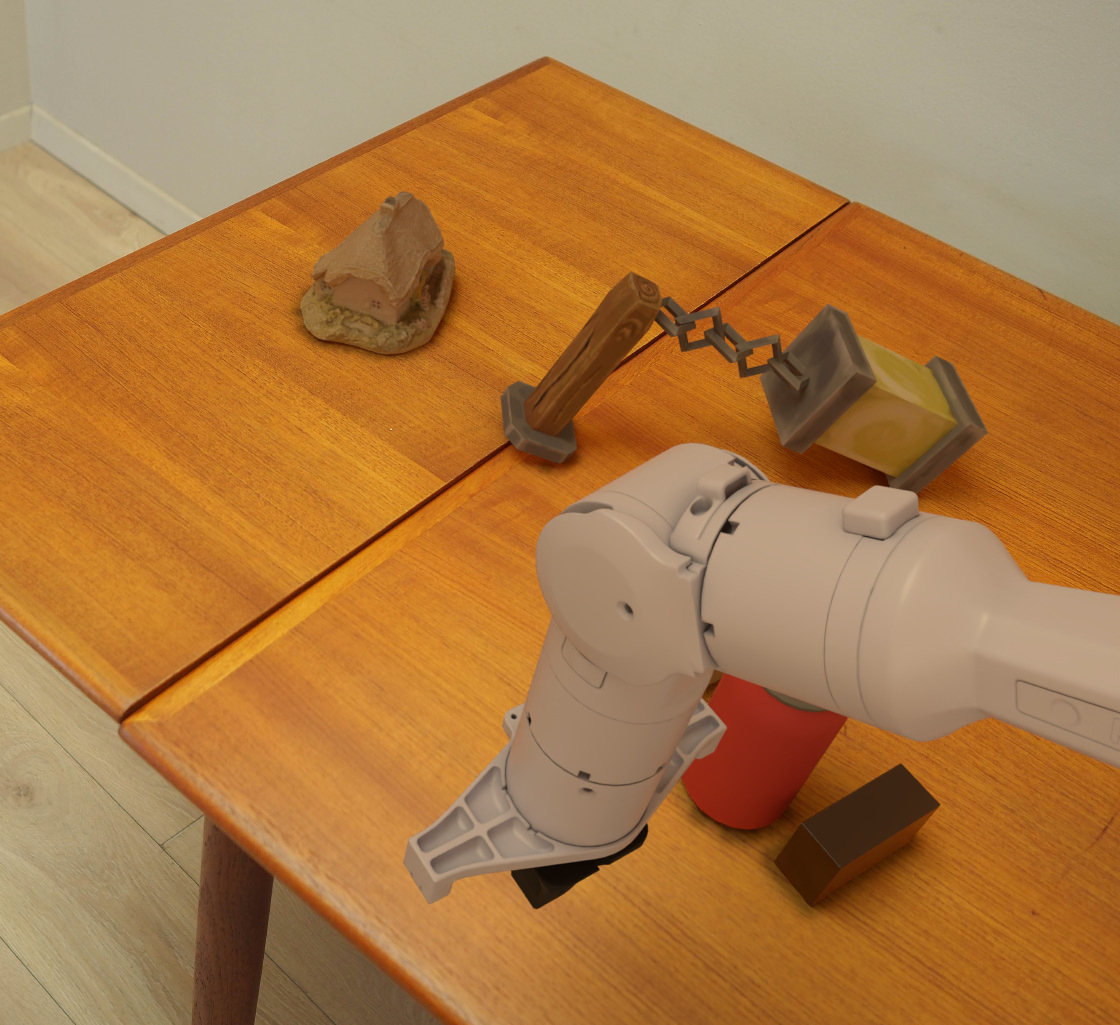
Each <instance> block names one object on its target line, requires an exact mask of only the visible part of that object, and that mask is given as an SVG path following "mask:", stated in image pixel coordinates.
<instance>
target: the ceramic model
mask: <svg viewBox="0 0 1120 1025" xmlns="http://www.w3.org/2000/svg"><path fill="white" fill-rule="evenodd" d="M414 195H415V194H414V193H413V192H408V191H403V190H401V191H399V192H398V193H397V194H396V195H395V196H391V195H389V196H387V197H385V199H384V201H383V202H382V203H381V204H380V205H379V208H378V209H377V210H376V211H374V212H372V214H371V215H370V216H369V217H368V218H367V219H366V220H365V221H364V222H362V223H361V224H360V225H358V226H357V227H356V228H355V229H354V230H353V231H351V233H350V234H349V235H348V236H346V238H344V240H343V241H341V242H340V243H339V244H338V245H337V247H334V248H332V249H331V250H329V251H328V252H326V253H324V254H323V255H322V256H320V257H319V258H318V260H317V261H316V263H315V264H314V265H313V269H312V272H311V274H310V275H311V278H312V280H313V281H312V286H311V287H310V288H309V289H308V291H307V292H306V293H305V294H304V295H303V297H302V298H301V301H300V306H299V309H300V310H301V315H302V318H303V323H304V326H305V327H306V330H307V331H308V332H309V333H311V335H312V336H314V337H315V338H317V339H319V340H322V341H329V342H335V343H342V344H344V345H350V346H353V347H359V348H361V349H364V350H368V351H370V352H374V353H376V354H379V355H380V354H381V355H396V354H402V353H408V352H409V351H413V350H414V349H418V348H420V347H421V346H424V345H426V344H427V343H429V342H430V341H431V339H432V338H433V336H434V335H435V332H436V330H437V329H438V326H439V325H440V323H441V320H442V319H443V317H444V316H445V312H446V310H447V306H448V304H449V301H450V297H451V294H452V289H453V282H454V279H455V278H456V276H455V275H456V261H455V258H454V254H453V253H452V251H449V250H448V249H446V248H444V247H445V240H444V237H443V235H442V230H441V229H440V227H439V225H438V223H437V221H436V220H435V218H434V217H433V214H432V212H431V210H430V209H429V206H428V205H427V204H426V203H425V202H424V201H422V199H419V198H416V197H414Z"/></svg>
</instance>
